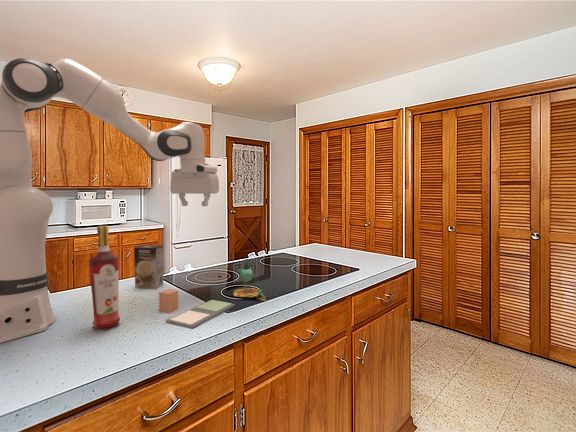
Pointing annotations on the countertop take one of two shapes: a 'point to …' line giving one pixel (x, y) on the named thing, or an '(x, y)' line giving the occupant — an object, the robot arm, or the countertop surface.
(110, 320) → the liquor
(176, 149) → the robot arm
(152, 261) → the coffee box
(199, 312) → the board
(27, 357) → the countertop surface
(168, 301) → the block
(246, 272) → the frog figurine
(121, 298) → the countertop surface
